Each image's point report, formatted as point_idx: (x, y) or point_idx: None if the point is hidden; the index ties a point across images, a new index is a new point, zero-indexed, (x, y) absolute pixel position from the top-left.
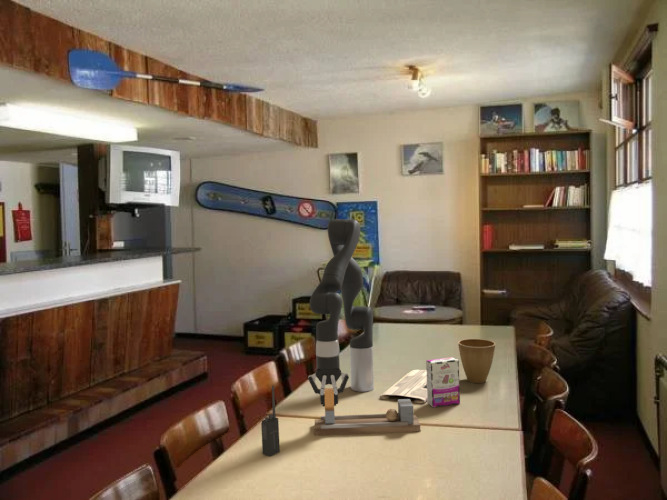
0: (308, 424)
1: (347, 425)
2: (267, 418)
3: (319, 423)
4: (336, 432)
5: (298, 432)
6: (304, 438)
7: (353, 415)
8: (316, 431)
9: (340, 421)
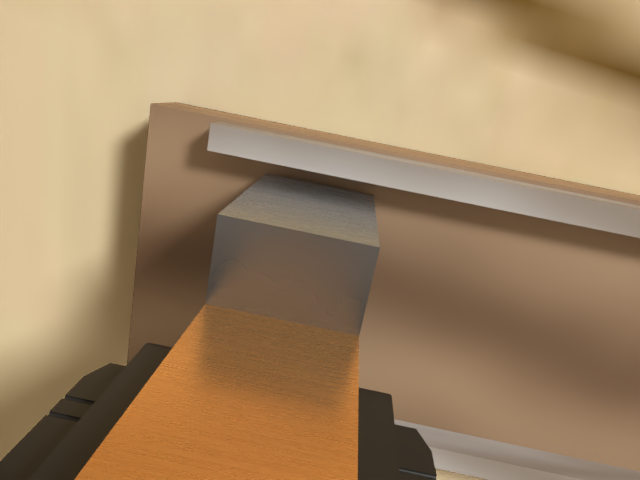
0: (111, 59)
1: (448, 465)
2: None
3: (189, 253)
4: None
5: (11, 245)
6: (62, 386)
7: (628, 229)
8: None
9: (427, 269)
